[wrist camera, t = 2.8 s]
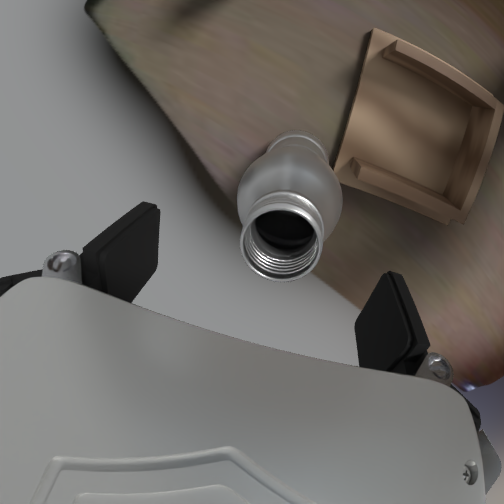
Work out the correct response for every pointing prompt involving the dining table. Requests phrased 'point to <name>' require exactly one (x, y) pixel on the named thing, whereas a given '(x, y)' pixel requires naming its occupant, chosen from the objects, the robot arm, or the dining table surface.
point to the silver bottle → (288, 207)
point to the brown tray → (417, 131)
